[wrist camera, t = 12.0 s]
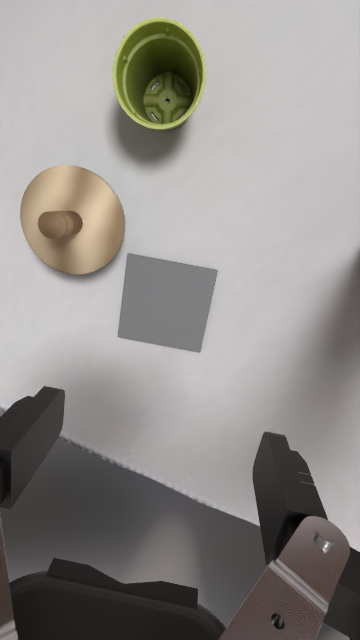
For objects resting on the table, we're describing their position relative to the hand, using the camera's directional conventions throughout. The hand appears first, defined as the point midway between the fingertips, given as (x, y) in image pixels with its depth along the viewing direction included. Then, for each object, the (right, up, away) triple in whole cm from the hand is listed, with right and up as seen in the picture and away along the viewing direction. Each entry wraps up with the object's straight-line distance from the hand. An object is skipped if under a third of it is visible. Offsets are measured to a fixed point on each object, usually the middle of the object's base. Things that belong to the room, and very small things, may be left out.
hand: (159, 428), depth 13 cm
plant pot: (-1, +32, +28) cm, 42 cm away
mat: (-1, +7, +37) cm, 37 cm away
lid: (-13, +17, +29) cm, 35 cm away
